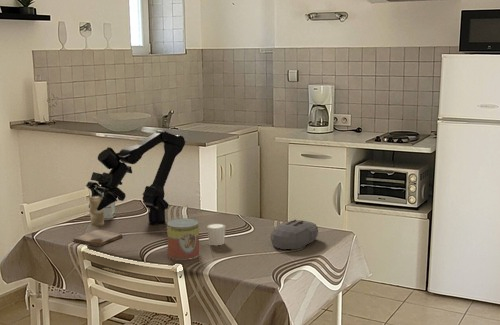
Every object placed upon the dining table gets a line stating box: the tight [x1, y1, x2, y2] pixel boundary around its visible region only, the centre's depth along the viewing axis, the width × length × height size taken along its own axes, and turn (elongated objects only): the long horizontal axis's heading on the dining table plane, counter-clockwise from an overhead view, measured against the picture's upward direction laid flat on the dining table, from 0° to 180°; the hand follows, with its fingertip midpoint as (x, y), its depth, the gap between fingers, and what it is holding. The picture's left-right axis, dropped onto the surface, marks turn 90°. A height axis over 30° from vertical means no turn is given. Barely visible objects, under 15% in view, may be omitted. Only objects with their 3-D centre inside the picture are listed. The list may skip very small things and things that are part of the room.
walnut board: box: [73, 229, 123, 247], centre depth 242 cm, size 13×13×1 cm
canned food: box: [166, 217, 200, 261], centre depth 222 cm, size 11×11×12 cm
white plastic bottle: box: [100, 185, 117, 220], centre depth 272 cm, size 6×6×14 cm
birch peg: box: [88, 196, 105, 228], centre depth 240 cm, size 5×5×11 cm
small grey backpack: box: [270, 219, 319, 250], centre depth 234 cm, size 15×8×20 cm
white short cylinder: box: [206, 223, 226, 246], centre depth 235 cm, size 7×7×7 cm
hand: (93, 209), depth 239 cm, fingers closed on birch peg, 5 cm apart
